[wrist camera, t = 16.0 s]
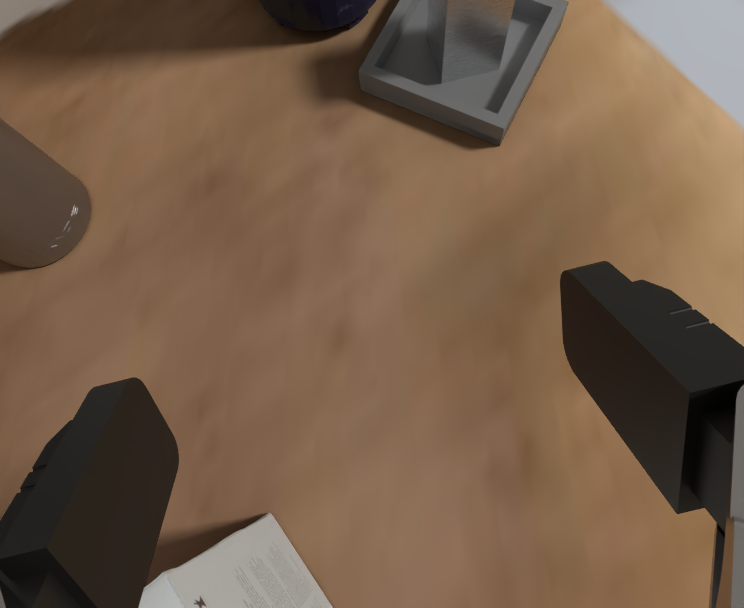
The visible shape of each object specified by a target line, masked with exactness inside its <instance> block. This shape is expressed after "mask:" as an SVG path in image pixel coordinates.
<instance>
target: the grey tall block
mask: <svg viewBox="0 0 744 608" xmlns="http://www.w3.org/2000/svg"><path fill="white" fill-rule="evenodd" d="M514 2H515V0H428V17H427V38H428V41H429V44H430V48H431V51H432V54H433V58H434V61H435V64H436V67H437V71H438V74H439V77H440V81H441V84H443V83H447V82H451V81H455V80H459V79H463V78H467V77H471V76H475V75H479V74H483V73H487V72H491V71H495V70H499V68H500V64H501V59H502V55H503V51H504V46H505V42H506V38H507V33H508V29H509V24H510V20H511V16H512V11H513V7H514Z"/></svg>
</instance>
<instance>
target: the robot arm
mask: <svg viewBox="0 0 744 608" xmlns="http://www.w3.org/2000/svg"><path fill="white" fill-rule="evenodd" d="M90 210H91V206H90V199H89V195H88V193H87V190H86V188H85V187H84V185H83V184H82V183H81V181H80V180H79V179H77V178H76V177H75V176H74V175H72V174H71V173H70V172H69V171H67V170H66V169H65V168H63V167H62V166H61V165H60V164H58V163H57V162H56V161H54V160H53V159H52V158H51V157H49V156H48V155H47V154H46V153H45V152H43V151H42V150H41V149H39V148H38V147H37V146H35V145H34V144H33V143H32V142H30V141H29V140H28V139H26V138H25V137H24V136H23V135H21V134H20V133H19V132H17V131H16V130H15V129H14V128H12V127H11V126H10V125H8V124H7V123H6V122H4V121H3V120H2V119H1V118H0V260H1V261H4V262H6V263H8V264H11V265H14V266H18V267H21V268H35V267H41V266H45V265H48V264H50V263H53V262H55V261H57V260H59V259H60V258H62V257H64V256H65V255H66V254H67V253H68V252H70V251H71V250H72V249H73V248H74V247H75V246H76V244H77V243H78V242H79V241H80V239H81V238H82V236H83V234H84V232H85V230H86V229H87V225H88V222H89V219H90ZM560 291H561V310H562V330H563V344H564V349H565V353H566V356H567V359H568V362H569V364H570V366H571V368H572V370H573V372H574V373H575V375H576V376H577V378H578V379H579V380H580V382H581V383H582V384H583V386H584V387H585V389H586V390H587V391H588V393H589V394H590V395H591V397H592V398H593V400H594V401H595V402H596V404H597V405H598V406H599V408H600V409H601V411H602V412H603V413H604V415H605V416H606V417H607V419H608V420H609V421H610V423H611V424H612V426H613V427H614V428H615V430H616V431H617V432H618V434H619V435H620V437H621V438H622V439H623V441H624V442H625V443H626V445H627V446H628V448H629V449H630V450H631V452H632V453H633V454H634V456H635V457H636V459H637V460H638V461H639V463H640V464H641V465H642V467H643V468H644V469H645V471H646V472H647V474H648V475H649V476H650V478H651V479H652V480H653V482H654V483H655V485H656V486H657V487H658V489H659V490H660V491H661V493H662V494H663V496H664V497H665V498H666V500H667V501H668V502H669V504H670V505H671V507H672V508H673V509H674V511H675V512H676V513H677V514H680V513H684V512H688V511H693V510H697V509H701V508H706V510H707V511H708V512H709V513H710V515H711V516H712V517H713V518H714V520H715V521H716V528H715V534H714V546H713V559H712V572H711V585H710V599H709V608H744V347H743V346H742V345H741V344H739V343H738V342H737V341H736V340H734V339H733V338H732V337H730V336H729V335H728V334H727V333H725V332H724V331H723V330H721V329H720V328H719V327H718V326H716V325H715V324H714V323H712V324H710V323H709V319H707V318H706V317H705V316H703V315H702V314H701V313H699V312H698V311H697V310H696V309H695V310H692V307H691V306H690V305H689V304H688V303H687V302H685V301H684V300H683V299H681V298H680V297H679V296H678V295H676V294H675V293H674V292H672V291H671V290H669V289H666V288H663V287H661V286H658V285H655V284H653V283H650V282H647V281H644V280H638V281H634V282H632V281H630V280H629V279H628V278H627V277H626V276H624V275H623V274H622V273H621V272H620V271H619V270H617V269H616V268H615V267H614V266H613V265H611V264H610V263H609V262H607V261H602V262H598V263H594V264H590V265H586V266H582V267H578V268H574V269H570V270H566V271H563V272H562V274H561V278H560ZM178 464H179V454H178V448H177V444H176V440H175V438H174V436H173V434H172V432H171V430H170V428H169V427H168V425H167V423H166V421H165V420H164V418H163V416H162V414H161V413H160V411H159V409H158V407H157V406H156V404H155V402H154V400H153V399H152V397H151V395H150V393H149V391H148V390H147V388H146V386H145V385H144V383H143V382H142V381H141V380H139V379H138V378H129V379H125V380H121V381H117V382H113V383H109V384H105V385H101V386H97V387H94V388H92V389H91V390H90V391H89V393H88V394H87V396H86V398H85V400H84V401H83V403H82V405H81V407H80V408H79V410H78V412H77V414H76V415H75V417H74V419H73V420H71V421H69V422H68V423H67V424H66V425H65V426H64V427H63V428H62V429H61V430H60V431H59V432H58V433H57V434H56V435H55V436H54V437H53V438H52V439H51V440H50V441H49V442H48V443H47V444H46V446H45V448H44V449H43V451H42V452H41V454H40V456H39V457H38V459H37V461H36V462H35V464H34V466H33V467H32V468H33V472H30V473H29V474H28V476H27V477H26V479H25V481H24V482H23V484H22V486H21V487H20V489H21V492H20V493H17V494H16V496H15V497H14V499H13V501H12V502H11V504H10V506H9V507H8V509H7V511H6V512H5V514H4V516H3V517H2V519H1V521H0V608H138V607H139V604H140V600H141V597H142V593H143V590H144V586H145V583H146V579H147V576H148V572H149V569H150V565H151V562H152V558H153V555H154V551H155V548H156V544H157V541H158V537H159V534H160V530H161V527H162V523H163V520H164V516H165V513H166V509H167V505H168V502H169V498H170V495H171V491H172V488H173V484H174V481H175V477H176V474H177V470H178Z"/></svg>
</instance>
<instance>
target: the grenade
mask: <svg viewBox="0 0 744 608" xmlns="http://www.w3.org/2000/svg"><path fill="white" fill-rule="evenodd" d="M375 1H376V0H261V2H262V4H263V6H264V8H265V9H266V10H267V11H268V13H269V14H270V15H271V16H272V17H273V18H275V19H276V20H277V21H278V22H279V23H280V25H287V26H290V27H292V28H295V29H300V30H306V31H324V30H329V29H333V28H338V27H341V26H344V27H347V28H352V27H353V26H355V25H356V24H357V23H359V22H360V21H361V20H362V19H363V18H364V17H365V16H366V14H367V13H368V9H369V8H370V7H371V6H372V5H373V4H374V3H375Z"/></svg>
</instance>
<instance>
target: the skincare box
mask: <svg viewBox="0 0 744 608" xmlns="http://www.w3.org/2000/svg"><path fill="white" fill-rule="evenodd" d="M138 608H333V607H332V606H331V604H330V603H329V601H328V600H327V598H326V596H325V595H324V593H323V592H322V590H321V589H320V587H319V586H318V584H317V583H316V581H315V580H314V578H313V577H312V575H311V574H310V572H309V570H308V569H307V567H306V566H305V564H304V563H303V561H302V560H301V558H300V557H299V555H298V554H297V552H296V550H295V549H294V547H293V546H292V544H291V543H290V541H289V540H288V538H287V537H286V535H285V534H284V532H283V531H282V529H281V528H280V526H279V524H278V523H277V521H276V520H275V518H274V517H273V515H272V514H271V513H267V514H266V515H264V516H263V517H261V518H260V519H258V520H257V521H255V522H254V523H252V524H250V525H249V526H247V527H245V528H243V529H241V530H238V531H236V532H235V533H233V534H231V535H229V536H228V537H226V538H225V539H223V540H222V541H220V542H218V543H217V544H215V545H214V546H212V547H211V548H209V549H208V550H206V551H204V552H203V553H201V554H200V555H198V556H196V557H194V558H193V559H191V560H189V561H187V562H186V563H184V564H182V565H181V566H179V567H177V568H172V569H169V570H167V571H164V572H162V573H161V574H160V575H159V576H158V577H157V578H156V579H155V580H153V581H152V582H151V583H150V584H148V585H147V586H146V587H144V590H143V593H142V597H141V600H140V604H139V607H138Z"/></svg>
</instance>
